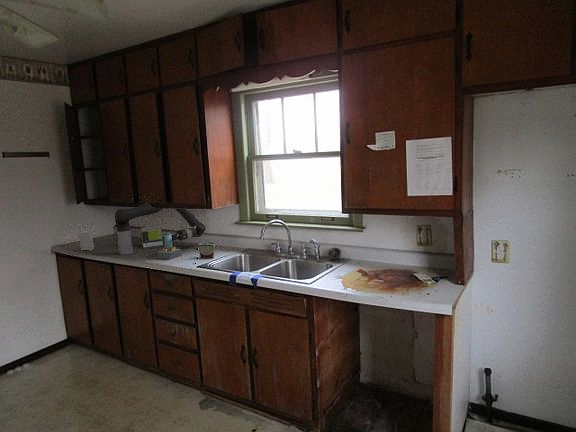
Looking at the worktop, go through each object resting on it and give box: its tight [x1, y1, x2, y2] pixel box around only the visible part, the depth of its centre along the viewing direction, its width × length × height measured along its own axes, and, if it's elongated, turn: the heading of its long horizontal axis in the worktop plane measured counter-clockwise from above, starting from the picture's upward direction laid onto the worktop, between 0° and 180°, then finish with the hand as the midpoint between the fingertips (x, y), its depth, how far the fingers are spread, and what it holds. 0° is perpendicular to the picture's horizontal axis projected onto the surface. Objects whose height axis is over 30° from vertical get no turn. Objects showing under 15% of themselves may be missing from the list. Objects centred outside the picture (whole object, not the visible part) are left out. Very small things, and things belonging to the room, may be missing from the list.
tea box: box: [140, 225, 164, 248], centre depth 315 cm, size 15×10×15 cm, turn 115°
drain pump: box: [163, 232, 174, 251], centre depth 272 cm, size 5×5×12 cm
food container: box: [197, 241, 216, 260], centre depth 266 cm, size 12×6×10 cm, turn 74°
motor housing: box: [156, 246, 183, 261], centre depth 273 cm, size 11×12×6 cm
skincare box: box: [77, 230, 95, 251], centre depth 309 cm, size 8×6×15 cm
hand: (167, 238), depth 271 cm, fingers open, 8 cm apart
